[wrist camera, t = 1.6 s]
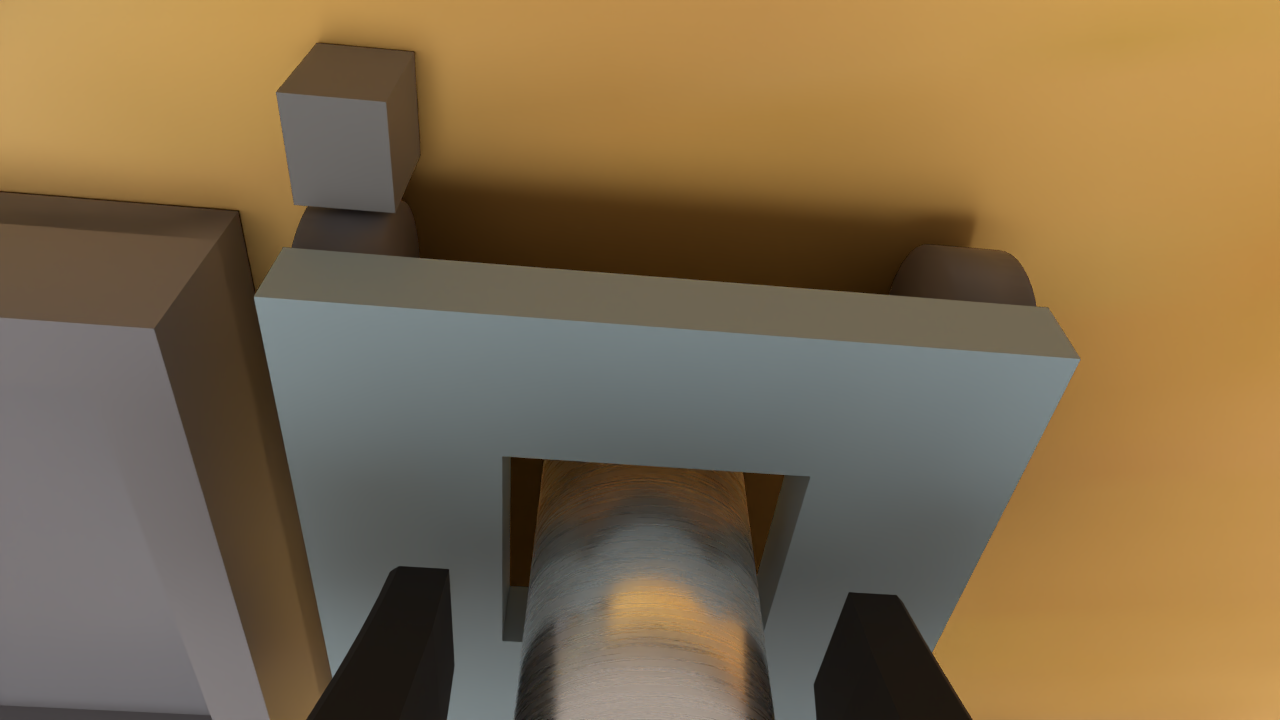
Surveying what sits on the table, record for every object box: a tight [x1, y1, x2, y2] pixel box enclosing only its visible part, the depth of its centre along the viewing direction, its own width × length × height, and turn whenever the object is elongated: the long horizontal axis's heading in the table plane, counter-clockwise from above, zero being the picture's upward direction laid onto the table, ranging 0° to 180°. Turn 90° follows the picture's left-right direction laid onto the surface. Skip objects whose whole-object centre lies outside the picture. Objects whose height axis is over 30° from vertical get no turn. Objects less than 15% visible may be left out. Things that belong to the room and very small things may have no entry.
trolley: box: [254, 43, 1080, 720], centre depth 13 cm, size 14×9×7 cm
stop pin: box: [513, 459, 775, 720], centre depth 11 cm, size 3×3×9 cm
